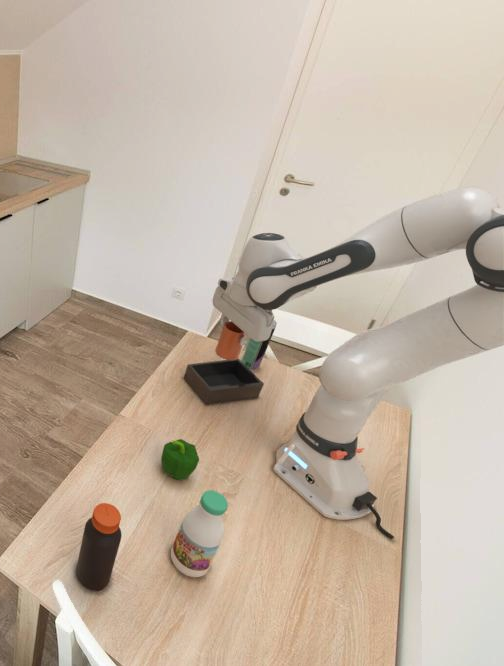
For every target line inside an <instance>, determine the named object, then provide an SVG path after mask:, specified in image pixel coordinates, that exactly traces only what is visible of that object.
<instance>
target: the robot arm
mask: <svg viewBox="0 0 504 666" xmlns="http://www.w3.org/2000/svg"><path fill="white" fill-rule="evenodd" d="M462 250H465V256H466V260H467V262H468V265H469V266H470V269H471V272H472V275H473V279H474V282H475V285H474V286H472V287H469V288H467V289H465V290H463V291H460V292H458V293H456V294H453V295H451V296H449V297H446V298H444V299H442V300H439V301H437V302H434V303H433V304H430V305H427V306H426V307H423V308H421V309H418V310H416V311H414V312H412V313H409V314H407V315H405V316H402V317H400V318H399V319H397V320H395V321H393V322H391V323H389V324H387V325H385V326H377V327H373V328H369V329H368V328H367V329H364V330H362V331H361V332H358V333H357V334H356V335H353V337H351V338H350V339H348V340H347V341H345V342H344V343H343V344H341V345H340V346H338V347H337V348H336V349H334V350H332V352H330V353H329V354H328V355H327V357H326V358H325V359H324V361H323V362H322V364H321V366H320V368H319V370H318V380H319V383H320V386H319V387H318V389H317V390H316V392H315V393H314V395H313V397H312V398H311V401H310V402H309V404H308V407H307V409H306V410H305V412H303V413H302V414H301V416H300V418H299V420H298V421H297V423H296V425H295V430H294V431H293V433H292V435H291V436H290V437H289V438H288V439H287V441H286V442H285V443H284V444H283V445H282V446H280V447H279V448H278V449H277V450H276V453H275V464H274V466H273V468H272V470H273V472H274V473H275V474H276V475H277V476H279V478H281V480H283V481H284V482H285V483H286V484H287V485H288V486H289V487H291V488H292V489H293V491H295V492H296V493H297V494H299V496H300V497H302V498H303V499H304V500H305V501H306V502H307V503H309V505H311V506H312V507H313V509H315V510H316V511H317V512H318V513H320V514H321V515H322V516H324V517H325V518H329V519H332V520H341V521H342V520H343V521H345V520H346V521H348V520H349V521H350V520H354V519H355V520H356V519H359V518H363V517H365V516H368V515H369V514H370V513H371V512H372V514H373V515H374V517H375V526H376V528H377V529H378V531H380V532H381V533H382V534H383V535H385V536H386V537H388V538H389V539H391V540H393V539H394V538H395V536H394V535H393V534H391V533H390V532H388V531H387V530H386V529H384V528H383V527H382V525H381V522H382V518H381V516H380V515H379V513H378V511H377V510H376V508H375V502H376V501H377V499H378V497H377V496H376V495H375V494H373V492H370V491H369V490H370V480H369V479H368V477H367V475H366V469H365V467H364V466H363V465H362V464H361V462H360V460H359V458H358V455H357V454H361V453H363V452H364V450H365V448H364V447H362V448H358V440H359V439H358V437H359V434H360V433H361V431H362V430H363V428H364V426H365V425H366V423H367V421H368V420H369V418H370V417H371V415H372V414H373V413H374V411H375V410H376V408H377V407H378V406H379V404H380V403H381V402H382V401H383V399H384V397H385V396H386V395H387V394H388V392H389V391H390V390H391V388H393V387H396V386H398V385H400V384H403V383H405V382H408V381H410V380H412V379H415V378H417V377H419V376H422V375H424V374H426V373H429V372H431V371H433V370H435V369H437V368H441V367H443V366H445V365H449V364H451V363H454V362H458V361H461V360H464V359H466V358H470V357H472V356H473V357H474V356H476V355H479V354H482V353H485V352H488V351H491V350H493V349H497V348H499V347H502V346H504V209H503V208H502V206H501V204H500V203H499V201H498V198H496V197H495V195H494V194H493V193H491V192H490V191H489V190H488V189H485V188H483V187H480V186H473V185H472V186H471V185H470V186H469V185H468V186H464V187H460V188H454V189H451V190H447V191H444V192H440V193H437V194H434V195H431V196H427V197H425V198H421V199H420V200H417V201H414V202H412V203H410V204H407V205H405V206H402V207H400V208H398V209H395V210H393V211H391V212H389V213H388V214H385V215H384V216H382V217H380V218H378V219H376V220H375V221H372V223H369V224H368V225H366V226H365V227H363V228H362V229H360V230H358V231H357V232H355V233H353V234H352V235H351V236H349V237H348V238H346V239H344V240H342V241H340V242H339V243H337V244H336V245H333V246H332V247H330V248H328V249H326V250H324V251H322V252H319V253H316V254H314V255H311V256H309V257H304V256H303V255H301V254H300V253H299V252H297V251H296V250H295V249H294V248H293V247H292V246H291V245H290V244H289V242H288V240H287V238H286V237H285V236H284V235H282V234H279V233H273V232H262V233H258V234H254V235H253V236H251V237H250V238H249V239H248V241H247V242H246V244H245V246H244V249H243V251H242V253H241V256H240V257H239V262H238V268H237V269H238V270H237V273H236V274H235V275H234V276H228V277H222V278H219V279H218V281H217V285H218V286H216V288H215V290H214V293H213V296H212V300H211V301H212V306H213V307H214V308H215V309H216V310H218V311H219V312H220V313H221V315H220V316H221V326H220V328H221V329H223V326H224V324H225V323H226V322H229V321H232V322H233V323H234V324H235V325H236V326H238V327H239V328H240V329H241V330H242V331H243V332H244V334H243V335H244V337H240V338H239V339H238V343H239V344H240V345H241V346H242V347H244V346H247V345H248V343H249V340H250V339H251V338H252V339H253V340H254V341H256V342H259V341H265V340H268V339H269V337H270V335H271V331H272V327H273V323H274V320H275V315H274V312H273V310H276V309H278V308H280V307H282V306H284V305H286V304H287V303H290V302H292V301H294V300H296V299H299V298H301V297H303V296H305V295H307V294H309V293H311V292H313V291H314V290H315V289H316V288H317V287H318V286H321V285H324V284H326V283H330V282H332V281H335V280H338V279H341V278H345V277H349V276H354V275H358V274H359V275H360V274H365V273H369V272H370V273H371V272H375V271H381V270H387V269H393V268H397V267H403V266H407V265H411V264H415V263H419V262H423V261H427V260H429V259H433V258H435V257H438V256H442V255H444V254H447V253H451V252H456V251H462Z"/></svg>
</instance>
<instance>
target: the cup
mask: <svg viewBox="0 0 504 666" xmlns="http://www.w3.org/2000/svg"><path fill="white" fill-rule="evenodd" d="M221 329H222V328H221ZM243 334H244V332H243V331H242V330H241V329H240V328H239V327H238V326H236V325H235V324H234V323H233V322H232V321H231V320H229V322H226V323H225V324H224V326H223V329H222V330H221V333H220V335H219V338H218V342H217V344H216V348H215V352H214V353H215V354H216V355H217V356H218V357H219V358H221V359H222V360H236V359H239V357H240V355H241V352H242V348H243V346H241V345H240V344H239V343H238V339H239V338H240V337H244V335H243Z"/></svg>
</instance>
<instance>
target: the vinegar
mask: <svg viewBox="0 0 504 666" xmlns="http://www.w3.org/2000/svg"><path fill="white" fill-rule="evenodd" d="M121 520H122V515H121V511H120V510H119V509H118V508H117V507H116V506H115V505H114V504H112V503H111V504H110V503H108V502H102V503H99V504H97V505H96V506H95V507H94V508H93V510H92V515H91V517H90V518H88V520H87V521H86V522H85V525H84V528H83V534H82V539H81V544H80V549H79V554H78V559H77V563H76V569H75V574H76V578H77V580H78V582H79V584H80V585H81V586H82V587H83V588H85V589H86V590H89V591H91V592H99V591H103V590H104V589H105V588H106V587H107V586H108V585H109V583H110V582H111V581H110V580H111V577H112V574H113V570H114V566H115V563H116V559H117V555H118V552H119V548H120V545H121V542H122V541H121V540H122V535H123V534H122V530H121V528H120V524H121Z"/></svg>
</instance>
